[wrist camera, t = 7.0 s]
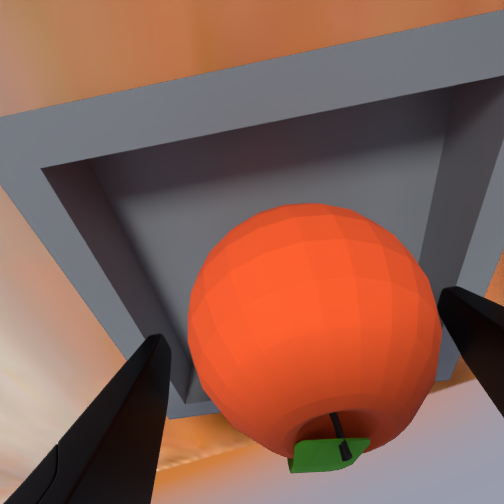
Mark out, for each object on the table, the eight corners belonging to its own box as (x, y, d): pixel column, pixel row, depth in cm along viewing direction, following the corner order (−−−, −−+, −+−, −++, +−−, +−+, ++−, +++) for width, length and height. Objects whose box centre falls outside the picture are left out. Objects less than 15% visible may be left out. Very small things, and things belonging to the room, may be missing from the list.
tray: (492, 13, 8) (612, -15, 5) (415, 330, 16) (449, 379, 13) (38, 110, 9) (-42, 126, 6) (179, 366, 16) (169, 419, 14)
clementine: (336, 328, 14) (413, 516, 8) (200, 327, 13) (176, 533, 7) (395, 176, 10) (659, 345, 4) (196, 162, 9) (133, 345, 3)
